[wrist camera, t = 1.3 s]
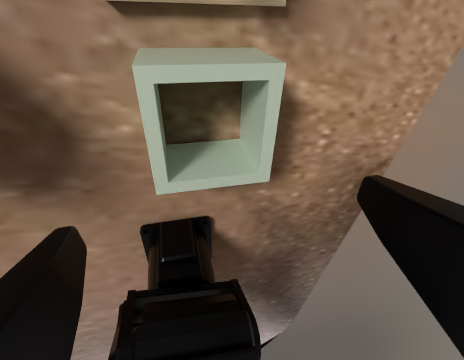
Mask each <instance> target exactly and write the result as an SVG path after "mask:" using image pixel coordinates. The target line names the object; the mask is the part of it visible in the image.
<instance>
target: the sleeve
mask: <svg viewBox="0 0 464 360" xmlns="http://www.w3.org/2000/svg"><path fill="white" fill-rule="evenodd" d="M285 68H286V63H285V62H283V61H281V60H279V59H277V58H275V57H273V56H271V55H269V54H268V53H266V52H264V51H262V50H260V49H258V48H139V49H138V51H137V54H136V57H135V59H134V62H133V64H132V69H133V74H134V79H135V85H136V90H137V95H138V100H139V106H140V111H141V116H142V121H143V127H144V132H145V137H146V142H147V148H148V153H149V158H150V163H151V169H152V174H153V179H154V184H155V190H156V195H159V194H168V193H176V192H184V191H193V190H201V189H209V188H218V187H226V186H234V185H242V184H251V183H259V182H267V181H269V179H270V172H271V165H272V158H273V151H274V144H275V137H276V131H277V124H278V117H279V110H280V103H281V96H282V89H283V82H284V75H285ZM223 81H243V82H242V101H241V120H240V139H231V140H219V141H207V142H194V143H182V144H170V145H166V140H165V133H164V126H163V118H162V111H161V104H160V97H159V90H158V84H160V83H192V82H223Z"/></svg>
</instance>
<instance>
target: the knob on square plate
mask: <svg viewBox="0 0 464 360" xmlns="http://www.w3.org/2000/svg"><path fill="white" fill-rule="evenodd" d="M109 1H140V2H170V3H200V4H230V5H260V6H286V0H109Z"/></svg>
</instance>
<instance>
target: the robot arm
mask: <svg viewBox="0 0 464 360" xmlns="http://www.w3.org/2000/svg"><path fill="white" fill-rule="evenodd" d="M357 201H358V203H359V205H360V207H361V208H362V210H363V212H364V214H365V215H366V217H367V219H368V220H369V222H370V224H371V225H372V227H373V229H374V231H375V233H376V234H377V236H378V238H379V239H380V240H381V242H382V244H383V245H384V247H385V248H386V249H387V251H388V252H389V253H390V255H391V256H392V258H393V259H394V261H395V262H396V264H397V265H398V266H399V268H400V269H401V271H402V272H403V273H404V275H405V276H406V277H407V279H408V280H409V282H410V283H411V285H412V286H413V287H414V289H415V290H416V292H417V293H418V294H419V296H420V297H421V298H422V300H423V301H424V303H425V304H426V306H427V307H428V308H429V310H430V311H431V313H432V314H433V315H434V317H435V318H436V320H437V321H438V323H439V324H440V325H441V327H442V328H443V330H444V331H445V332H446V334H447V335H448V337H449V338H450V339H451V341H452V342H453V344H454V345H455V346H456V348H457V349H458V350H459V352H460V353H461V355H462V356H463V358H464V206H463V205H460V204H457V203H454V202H451V201H449V200H446V199H443V198H441V197H438V196H435V195H432V194H429V193H427V192H424V191H421V190H418V189H416V188H413V187H410V186H407V185H404V184H402V183H399V182H396V181H393V180H391V179H388V178H385V177H382V176H379V175H372V176H366V177H365V178H364V179H363V180H362V183H361V186H360V188H359V191H358V194H357ZM204 221H206V222H204ZM145 230H147V231H145ZM140 234H141V238H142V242H143V245H144V249H145V253H146V256H147V260H148V264H149V267H148V290H140V291H136V290H129V291H128V295H127V300H125V301H124V303H123V304H121V305H120V307H119V315H118V322H117V328H116V332H115V336H114V339H113V343H112V347H111V350H110V354H109V358H108V360H260V358H261V343H260V335H259V330H258V326H257V322H256V319H255V317H254V314H253V312H252V310H251V308H250V306H249V304H248V302H247V300H246V298H245V295H244V293H243V291H242V289H241V287H240V285H239V283H238V281H237V279H232V280H230V281H223V282H215V278H214V273H213V268H212V263H211V258H212V254H211V222H210V218H209V217H207V216H203V217H196V218H189V219H182V220H175V221H168V222H161V223H154V224H147V225H143V226H141V228H140ZM86 256H87V249H86V245H85V243H84V241H83V239H82V238H81V236H80V234H79V232H78V230H77V229H76V228H75V227H74V226H67V227H61V228H57V229H55V230H54V231H53V232H52V233H51V234H49V235H48V236H47V237H46V238H45V239H44V240H43V241H42V242H40V243H39V244H38V245H37V246H36V247H35V248H34V249H33V250H32V251H30V252H29V253H28V254H27V255H26V256H25V257H24V258H23V259H21V260H20V261H19V262H18V263H17V264H16V265H15V266H14V267H13V268H11V269H10V270H9V271H8V272H7V273H6V274H5V275H4V276H2V277H1V278H0V360H70V359H71V354H72V349H73V345H74V340H75V335H76V331H77V326H78V321H79V317H80V312H81V306H82V298H83V288H84V278H85V267H86Z"/></svg>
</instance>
